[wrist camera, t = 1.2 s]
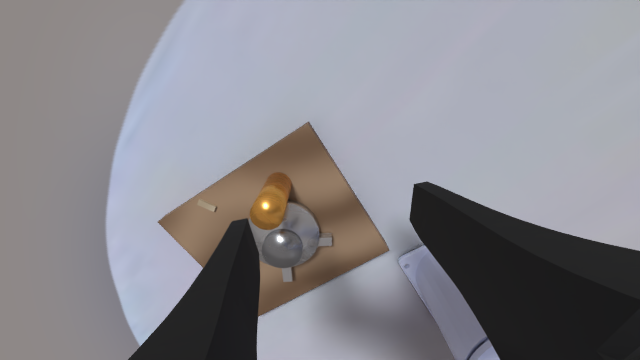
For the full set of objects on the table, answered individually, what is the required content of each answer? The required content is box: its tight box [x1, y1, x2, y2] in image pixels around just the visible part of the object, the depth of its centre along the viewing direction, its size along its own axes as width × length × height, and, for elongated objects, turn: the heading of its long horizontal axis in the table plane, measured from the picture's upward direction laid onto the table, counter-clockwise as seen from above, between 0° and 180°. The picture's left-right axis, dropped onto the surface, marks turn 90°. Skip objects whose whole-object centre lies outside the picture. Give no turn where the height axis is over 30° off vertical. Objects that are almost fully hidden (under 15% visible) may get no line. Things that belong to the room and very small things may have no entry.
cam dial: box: [248, 172, 332, 282], centre depth 18 cm, size 10×8×5 cm
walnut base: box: [158, 122, 389, 316], centre depth 22 cm, size 13×15×1 cm
